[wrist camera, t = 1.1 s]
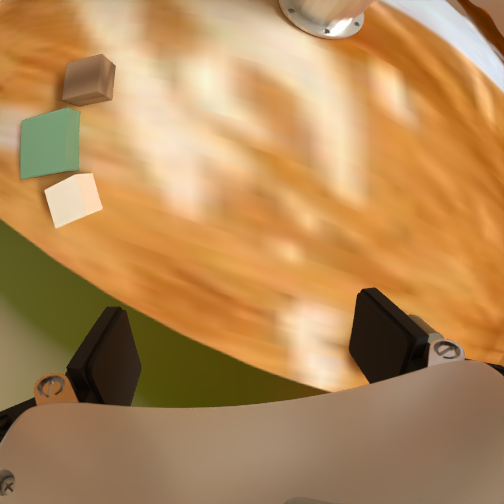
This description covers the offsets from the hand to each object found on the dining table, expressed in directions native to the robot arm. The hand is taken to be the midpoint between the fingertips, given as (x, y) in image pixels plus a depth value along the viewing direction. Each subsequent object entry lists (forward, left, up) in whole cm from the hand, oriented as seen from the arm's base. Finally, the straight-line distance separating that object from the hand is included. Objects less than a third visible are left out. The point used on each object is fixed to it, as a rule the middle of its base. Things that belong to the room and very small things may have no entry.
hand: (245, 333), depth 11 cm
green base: (-11, -24, -26) cm, 37 cm away
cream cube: (-4, -19, -26) cm, 32 cm away
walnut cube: (-19, -17, -26) cm, 36 cm away
